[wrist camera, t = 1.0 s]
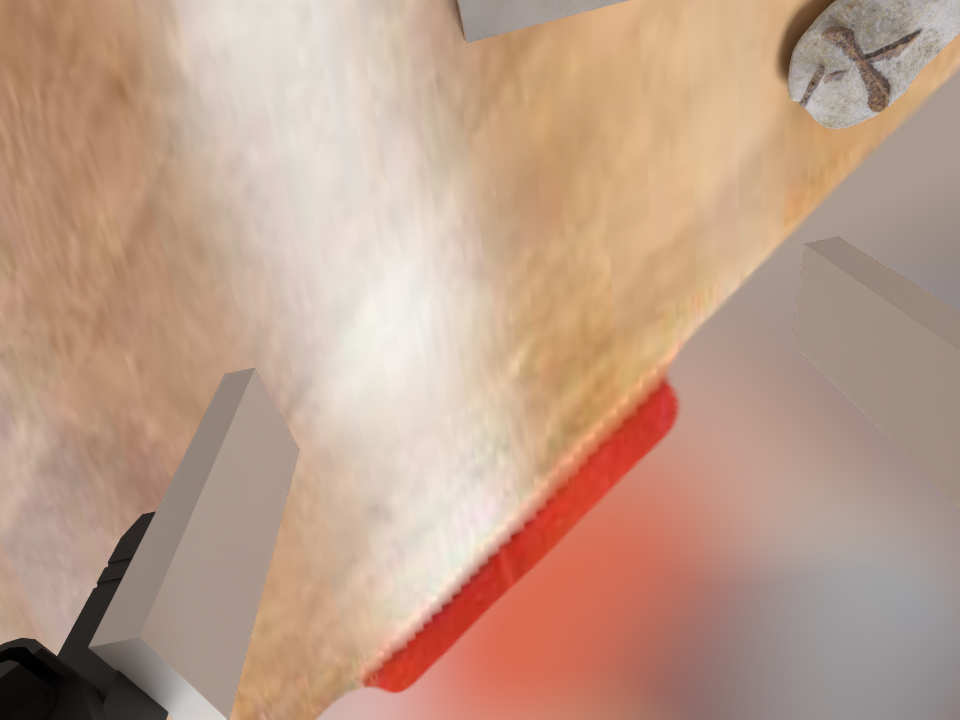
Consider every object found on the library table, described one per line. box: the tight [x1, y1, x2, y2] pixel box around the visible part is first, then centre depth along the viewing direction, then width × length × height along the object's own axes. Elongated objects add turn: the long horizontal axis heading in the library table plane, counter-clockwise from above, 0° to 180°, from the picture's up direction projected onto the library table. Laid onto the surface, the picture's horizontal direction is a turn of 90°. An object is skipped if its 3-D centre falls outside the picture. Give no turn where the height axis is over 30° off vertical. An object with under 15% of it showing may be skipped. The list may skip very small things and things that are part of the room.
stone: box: [787, 0, 960, 129], centre depth 31 cm, size 10×7×3 cm
